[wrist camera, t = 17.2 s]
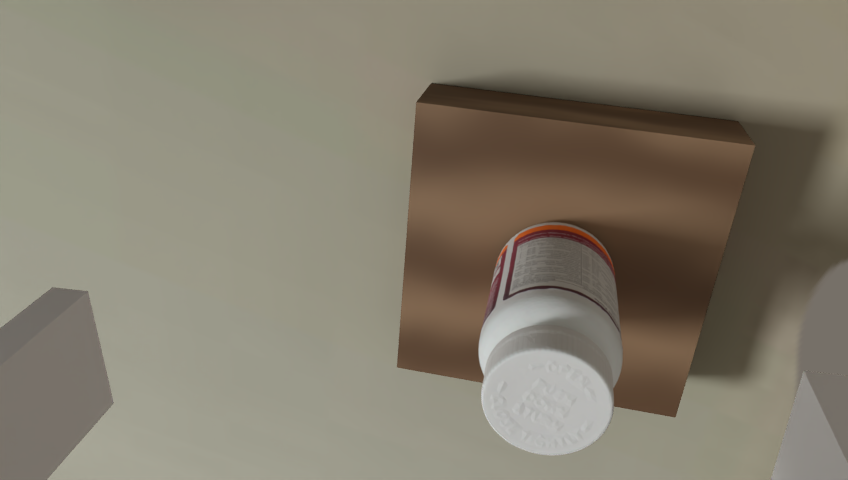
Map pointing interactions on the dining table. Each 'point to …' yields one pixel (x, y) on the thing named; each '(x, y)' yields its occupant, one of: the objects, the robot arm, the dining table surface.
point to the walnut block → (568, 222)
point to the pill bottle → (551, 340)
